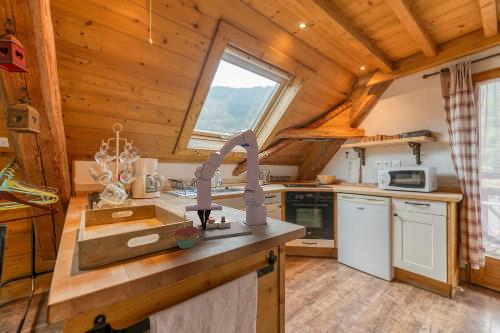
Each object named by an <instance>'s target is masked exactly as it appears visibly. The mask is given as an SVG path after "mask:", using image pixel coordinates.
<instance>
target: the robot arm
mask: <svg viewBox="0 0 500 333" xmlns="http://www.w3.org/2000/svg"><path fill="white" fill-rule="evenodd" d="M237 146H239V147H241V148H243V149H244V150H245V151H246V168H247V169H246V174H247V175H246V178H247V179H246V181H247V182H246V185H245V186H244V187H243V188H244V190H243V194H242V198H243V200H244V203H245V220H244V219H243V220H242V222H243V223H245V224H246V225H247V226H257V225H265V224H268V221H267V219H268V218H267V216H268V215H267V213H268V212H267V211H268V210H267V206H266V204H265V203H264V201H265V194H264V189H263V187H262V186H261V184H260V173H259V172H260V168H259V166H260V164H259V163H260V162H259V161H260V160H259V156H260V155H259V151H260V150H259V149H260V148H259V145H258V142H257V133H256V132H255V131H253V129H249V128H248V129H247V128H246V129H245V130H237V131H235V132H233V134H231V135H230V138H228V139H227V140H226V142H224V144H223V146H222V147H221V148H220V149H219V151H214V152H211V153H209V157H208V158H207V159H206V160H205V161H202V163H201V164H202V165H199V166H197V168H195V171H194V176H195V178H196V204H195V205H193V204H192V205H186V206H185V212H186V213H187V212H188V213H189V212H197V213H196V214H197V216H198V218H199V222H200V223H201V224H202V229H206V224H207V222H208V218H209V217H210V216H211V212H212V211H220V212H222V211H223V205H222V204H212V179H213V178H214V176H215V172H216V171H217V170H218V169H219V168H220V167H221V165H223V163H224V162H225V157H226V156H227V155H228V154H229V153H230V152H232V150H234V149H235V147H237Z"/></svg>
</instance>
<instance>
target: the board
mask: <svg viewBox="0 0 500 333" xmlns="http://www.w3.org/2000/svg"><path fill="white" fill-rule="evenodd" d="M230 222H231V227H225V228H210V229H202V230H198V228H197V225H195V226H194V227H196V228H197V230H198V235H199V236H200V237H201V239H203V241H209V240H216V239H222V238H229V237H230V238H231V237H237V236H243V235H252V234H253V232H254V231H253V230H252V229H251V228H249V227H247V226H245V225H244V224H243V223H242V222H239V221H238V220H237V221H230Z"/></svg>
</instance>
